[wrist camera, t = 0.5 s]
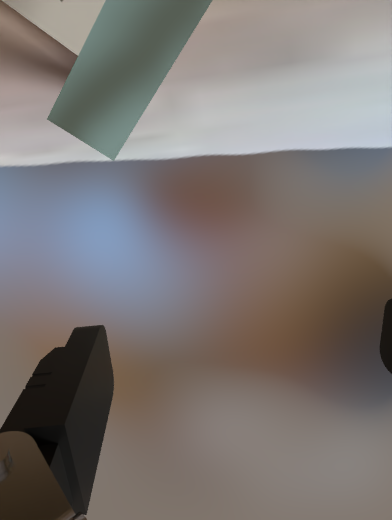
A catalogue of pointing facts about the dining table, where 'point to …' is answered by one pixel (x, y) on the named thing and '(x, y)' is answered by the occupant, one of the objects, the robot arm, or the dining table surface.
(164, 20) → the grey arch
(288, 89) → the dining table surface
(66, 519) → the robot arm
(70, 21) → the socket block
